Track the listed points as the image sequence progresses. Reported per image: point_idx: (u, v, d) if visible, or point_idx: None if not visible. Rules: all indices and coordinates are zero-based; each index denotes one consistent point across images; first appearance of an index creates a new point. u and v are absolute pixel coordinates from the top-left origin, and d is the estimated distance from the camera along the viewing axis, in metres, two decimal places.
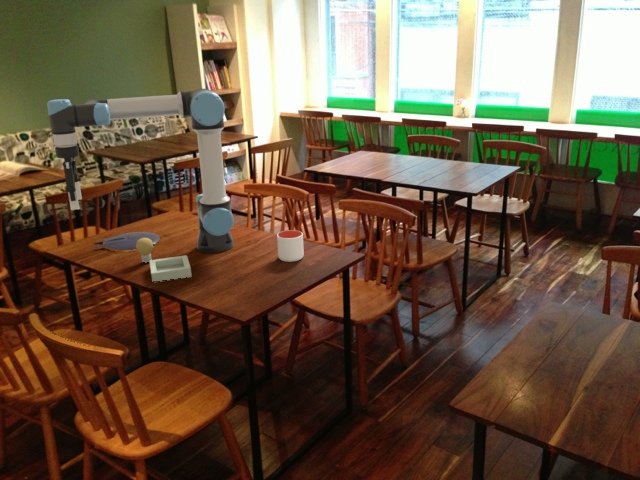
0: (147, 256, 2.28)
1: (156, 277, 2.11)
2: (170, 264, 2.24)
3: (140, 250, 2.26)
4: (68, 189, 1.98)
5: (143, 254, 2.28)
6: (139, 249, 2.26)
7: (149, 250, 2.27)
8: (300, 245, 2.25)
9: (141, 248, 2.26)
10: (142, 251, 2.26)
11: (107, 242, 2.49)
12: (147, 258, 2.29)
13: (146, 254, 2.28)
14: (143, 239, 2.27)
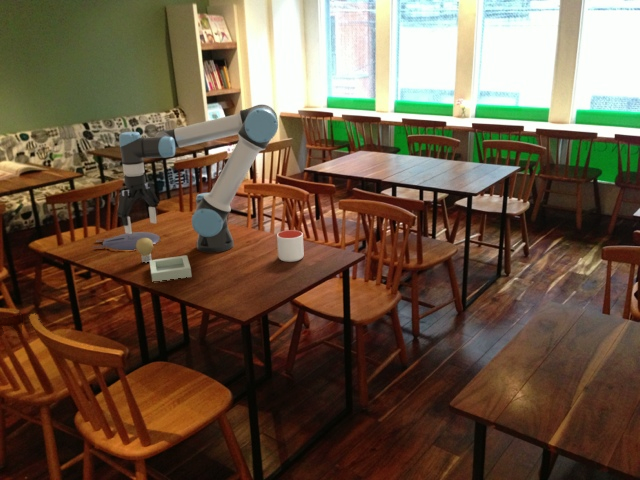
0: (147, 256, 2.28)
1: (156, 277, 2.11)
2: (170, 264, 2.24)
3: (140, 250, 2.26)
4: (118, 215, 2.15)
5: (143, 254, 2.28)
6: (139, 249, 2.26)
7: (149, 250, 2.27)
8: (300, 245, 2.25)
9: (141, 248, 2.26)
10: (142, 251, 2.26)
11: (107, 242, 2.49)
12: (147, 258, 2.29)
13: (146, 254, 2.28)
14: (143, 239, 2.27)
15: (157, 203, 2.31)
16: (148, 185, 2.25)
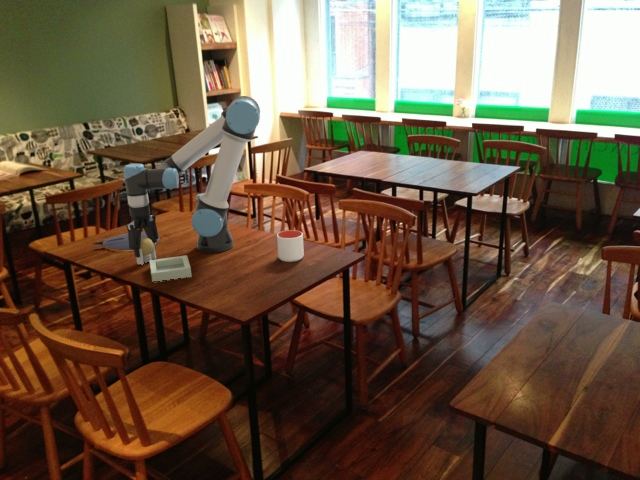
0: (147, 256, 2.28)
1: (156, 277, 2.11)
2: (170, 264, 2.24)
3: None
4: (130, 247, 2.23)
5: (143, 254, 2.28)
6: None
7: (149, 250, 2.27)
8: (300, 245, 2.25)
9: (141, 248, 2.26)
10: (142, 251, 2.26)
11: (107, 242, 2.49)
12: (147, 258, 2.29)
13: (146, 254, 2.28)
14: (143, 239, 2.27)
15: (156, 238, 2.32)
16: (152, 217, 2.29)
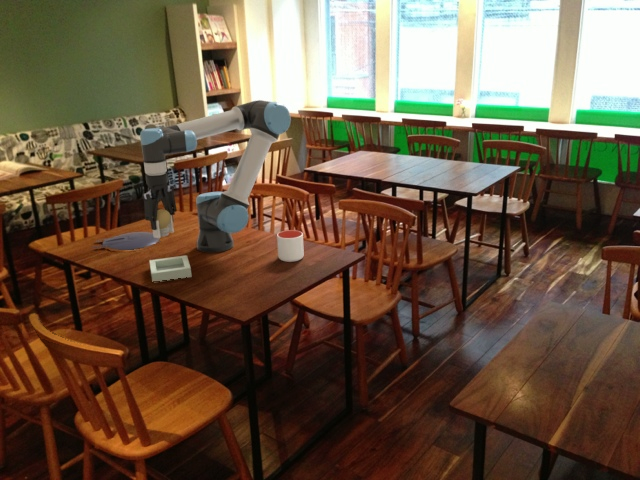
0: (164, 229, 2.13)
1: (156, 277, 2.11)
2: (170, 264, 2.24)
3: None
4: (146, 218, 2.07)
5: (160, 227, 2.12)
6: None
7: (166, 222, 2.12)
8: (300, 245, 2.25)
9: None
10: (159, 223, 2.11)
11: (107, 242, 2.49)
12: (164, 231, 2.13)
13: (163, 227, 2.12)
14: (160, 210, 2.11)
15: (174, 210, 2.17)
16: (170, 187, 2.14)
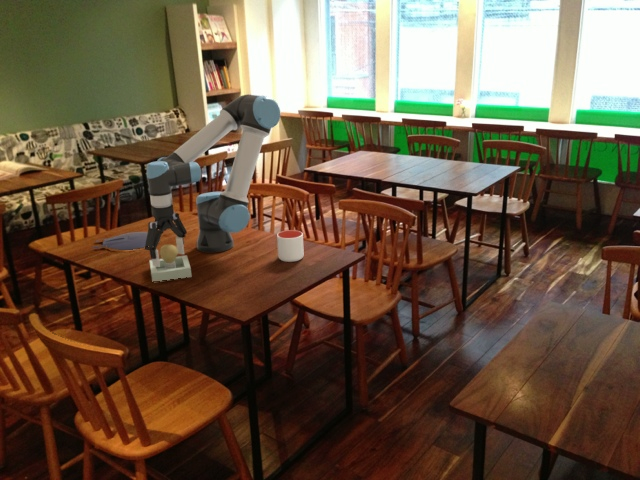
0: (171, 263, 2.17)
1: (156, 277, 2.11)
2: None
3: (164, 257, 2.15)
4: (146, 248, 2.07)
5: (167, 261, 2.17)
6: (163, 256, 2.15)
7: (173, 257, 2.16)
8: (300, 245, 2.25)
9: (165, 256, 2.14)
10: (166, 258, 2.15)
11: (107, 242, 2.49)
12: (171, 265, 2.17)
13: (170, 261, 2.17)
14: (167, 246, 2.15)
15: (184, 233, 2.22)
16: (176, 215, 2.17)
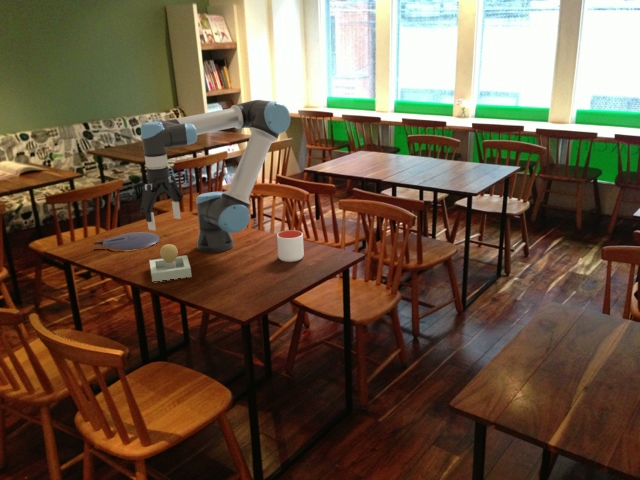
0: (171, 263, 2.17)
1: (156, 277, 2.11)
2: None
3: (164, 257, 2.15)
4: (141, 210, 2.02)
5: (167, 261, 2.17)
6: (163, 256, 2.15)
7: (174, 257, 2.16)
8: (300, 245, 2.25)
9: (165, 255, 2.14)
10: (166, 258, 2.15)
11: (107, 242, 2.49)
12: (171, 265, 2.17)
13: (170, 261, 2.17)
14: (167, 245, 2.15)
15: (181, 197, 2.18)
16: (171, 178, 2.12)
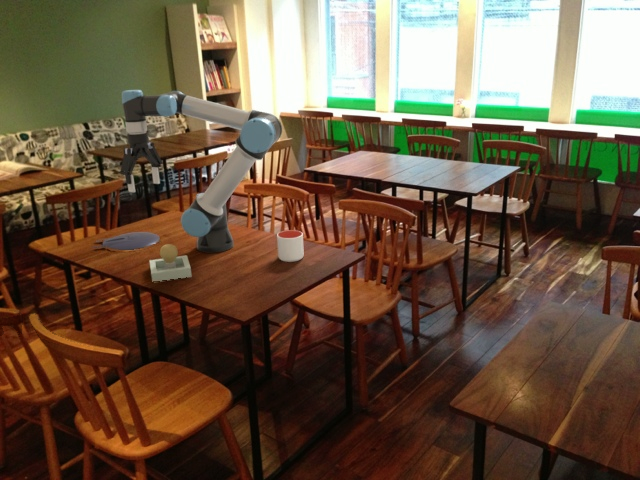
0: (171, 263, 2.17)
1: (156, 277, 2.11)
2: None
3: (164, 257, 2.15)
4: (121, 173, 2.16)
5: (167, 261, 2.17)
6: (163, 256, 2.15)
7: (173, 257, 2.16)
8: (300, 245, 2.25)
9: (165, 255, 2.14)
10: (166, 258, 2.15)
11: (107, 242, 2.49)
12: (171, 265, 2.17)
13: (170, 261, 2.17)
14: (167, 245, 2.15)
15: (160, 163, 2.31)
16: (151, 145, 2.26)
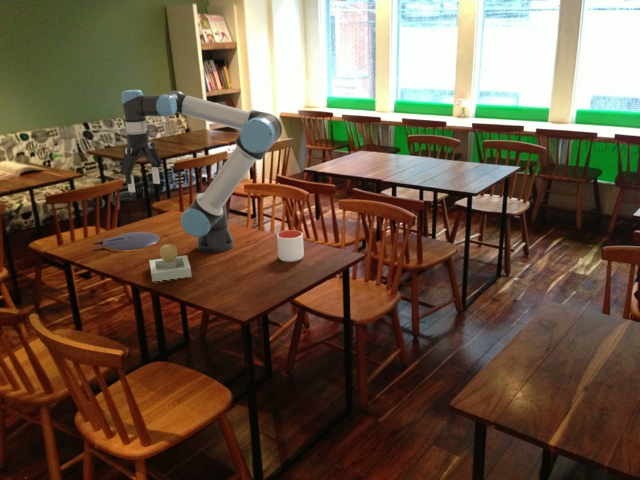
0: (171, 263, 2.17)
1: (156, 277, 2.11)
2: None
3: (164, 257, 2.15)
4: (121, 172, 2.16)
5: (167, 261, 2.16)
6: (163, 256, 2.15)
7: (173, 257, 2.16)
8: (300, 245, 2.25)
9: (165, 256, 2.14)
10: (166, 258, 2.15)
11: (107, 242, 2.49)
12: (171, 266, 2.17)
13: (170, 261, 2.17)
14: (167, 246, 2.15)
15: (160, 163, 2.31)
16: (151, 145, 2.26)
